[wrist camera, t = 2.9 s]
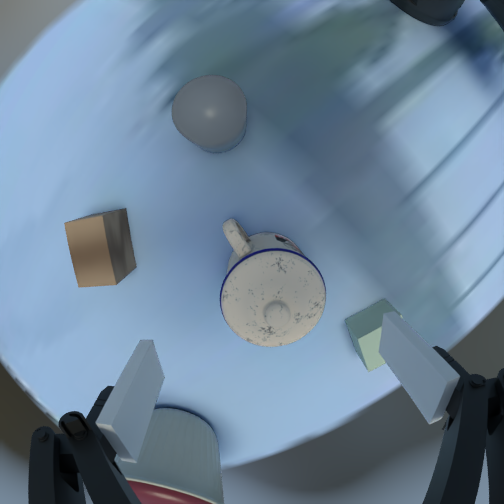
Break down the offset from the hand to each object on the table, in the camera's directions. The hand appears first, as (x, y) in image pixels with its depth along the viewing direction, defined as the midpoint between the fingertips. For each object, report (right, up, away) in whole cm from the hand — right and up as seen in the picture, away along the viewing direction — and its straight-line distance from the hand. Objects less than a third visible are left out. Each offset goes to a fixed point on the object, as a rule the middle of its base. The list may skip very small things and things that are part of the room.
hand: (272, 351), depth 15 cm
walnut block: (-18, +7, +16) cm, 25 cm away
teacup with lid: (0, +5, +17) cm, 18 cm away
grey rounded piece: (-5, +19, +13) cm, 23 cm away
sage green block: (+15, -5, +20) cm, 25 cm away
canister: (-13, -24, +24) cm, 36 cm away
